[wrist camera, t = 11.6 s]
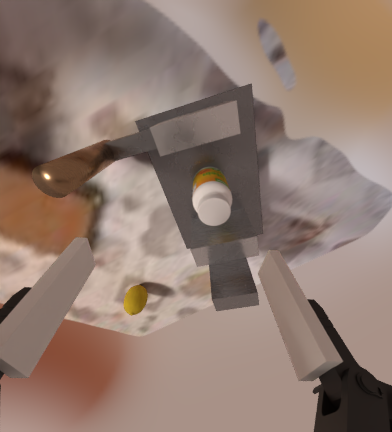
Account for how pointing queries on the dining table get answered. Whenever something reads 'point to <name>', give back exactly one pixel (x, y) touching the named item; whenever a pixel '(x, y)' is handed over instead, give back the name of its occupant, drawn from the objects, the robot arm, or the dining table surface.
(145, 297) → the lemon
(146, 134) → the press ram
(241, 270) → the grey frame
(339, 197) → the dining table surface
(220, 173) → the supplement bottle
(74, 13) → the dining table surface
